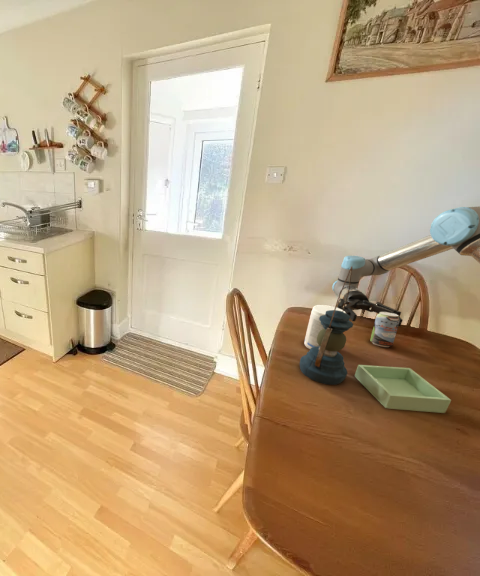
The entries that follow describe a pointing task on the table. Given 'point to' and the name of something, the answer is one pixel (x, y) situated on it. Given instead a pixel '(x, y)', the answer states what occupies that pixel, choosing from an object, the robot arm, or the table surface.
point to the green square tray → (401, 389)
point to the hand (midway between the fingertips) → (377, 320)
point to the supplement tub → (316, 324)
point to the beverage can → (385, 329)
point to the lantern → (328, 347)
